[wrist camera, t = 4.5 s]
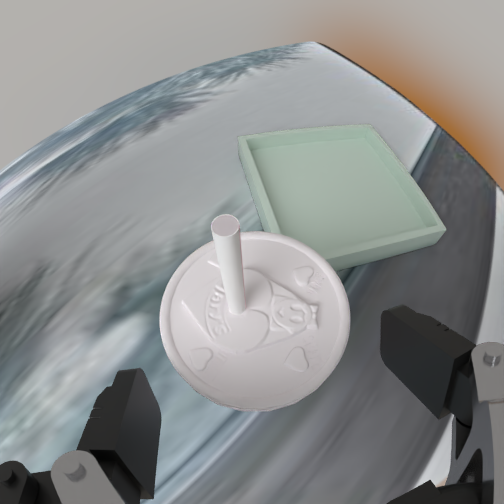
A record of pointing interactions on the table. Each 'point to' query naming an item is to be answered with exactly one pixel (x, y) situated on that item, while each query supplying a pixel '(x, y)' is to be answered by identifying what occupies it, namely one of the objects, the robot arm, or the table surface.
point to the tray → (338, 193)
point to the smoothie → (254, 318)
